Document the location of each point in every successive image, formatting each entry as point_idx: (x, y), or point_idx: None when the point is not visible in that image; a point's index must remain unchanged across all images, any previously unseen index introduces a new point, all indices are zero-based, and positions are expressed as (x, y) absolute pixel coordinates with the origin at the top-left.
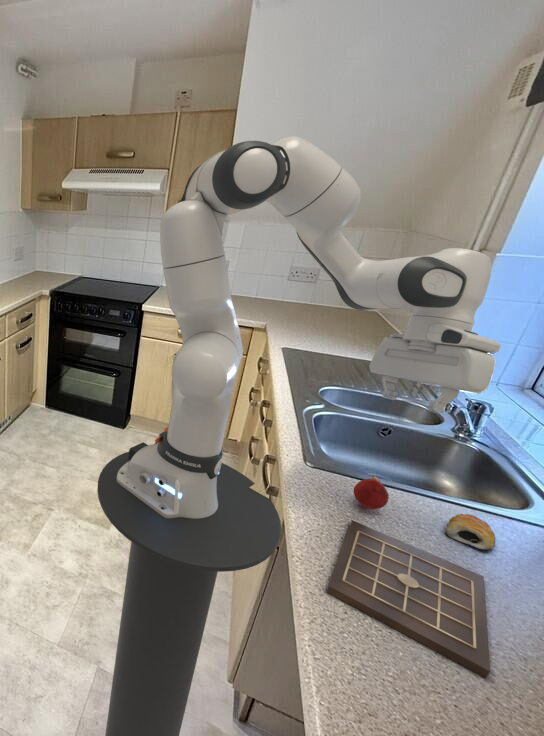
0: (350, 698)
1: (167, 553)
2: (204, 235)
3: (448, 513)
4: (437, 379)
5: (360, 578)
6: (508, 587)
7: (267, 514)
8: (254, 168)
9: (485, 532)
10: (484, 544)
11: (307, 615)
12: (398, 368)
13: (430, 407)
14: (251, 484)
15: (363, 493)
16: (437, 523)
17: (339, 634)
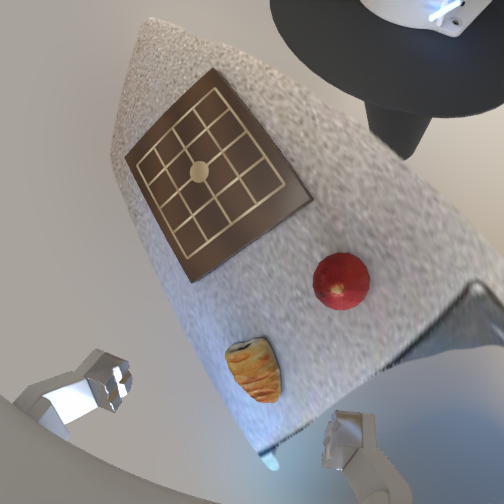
0: (147, 40)
1: None
2: None
3: (300, 393)
4: (15, 436)
5: (213, 111)
6: (189, 306)
7: (359, 77)
8: None
9: (232, 367)
10: (228, 350)
11: (202, 38)
12: None
13: (109, 358)
14: (440, 106)
15: (336, 256)
16: (287, 353)
17: (181, 57)
